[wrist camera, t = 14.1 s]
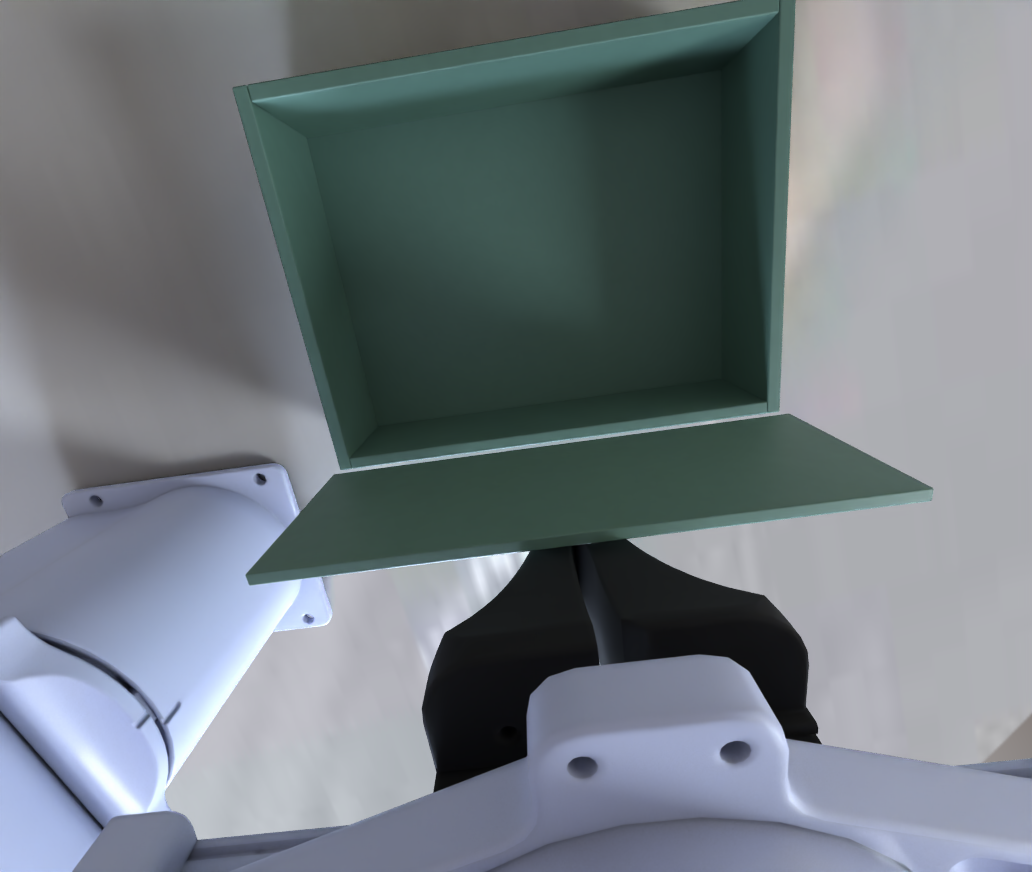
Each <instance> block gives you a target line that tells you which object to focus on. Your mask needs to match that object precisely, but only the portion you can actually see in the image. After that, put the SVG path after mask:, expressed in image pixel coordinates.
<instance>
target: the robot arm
mask: <svg viewBox="0 0 1032 872" xmlns="http://www.w3.org/2000/svg"><path fill="white" fill-rule="evenodd" d="M258 473H260V474H262V475H264V476H265V478H266V481H262V480H261V479H260V478H259V477H258ZM98 497H100V498H101V499H102V501H100V500H99V499H98ZM62 505H63V507H64V509H65V511H66V513H67V515H68V517H69V518H68V519H66V520H65V521H63V522H61V523H59V524H57V525H55V526H54V527H52V528H50V529H48V530H46V531H44V532H43V533H41V534H39V535H37V536H35V537H34V538H32V539H30V540H28V541H26V542H24V543H23V544H21V545H19V546H17V547H15V548H13V549H12V550H10V551H8V552H6V553H4V554H2V555H1V556H0V872H1032V758H1030V759H1020V760H1009V761H999V762H989V763H979V764H969V765H958V766H950V765H944V764H938V763H932V762H926V761H920V760H914V759H907V758H901V757H895V756H889V755H883V754H877V753H871V752H865V751H859V750H852V749H846V748H840V747H834V746H828V745H822V743H821V742H820V740H819V739H818V737H817V736H816V734H818V726H817V723H816V721H815V719H814V718H813V716H812V715H811V713H810V712H809V711H808V709H807V708H806V695H807V682H808V669H809V662H808V652H807V649H806V647H805V645H804V643H803V641H802V639H801V637H800V635H799V634H798V633H797V632H796V630H795V629H794V628H793V627H792V625H791V624H790V623H789V622H788V620H787V619H786V618H785V617H784V616H783V615H782V613H781V612H780V611H779V610H778V609H777V608H776V607H775V606H774V605H773V604H772V603H771V602H770V601H769V600H768V599H767V598H766V597H765V596H764V595H760V594H755V593H751V592H746V591H742V590H737V589H733V588H728V587H725V586H721V585H718V584H715V583H712V582H709V581H705V580H703V579H700V578H697V577H694V576H692V575H689V574H687V573H685V572H682V571H680V570H678V569H675V568H673V567H671V566H669V565H667V564H665V563H663V562H661V561H659V560H658V559H656V558H654V557H652V556H650V555H649V554H647V553H645V552H644V551H642V550H641V549H639V548H638V547H636V546H635V545H633V544H632V543H631V542H629V541H628V540H627V539H622V540H614V541H606V542H597V543H589V544H581V545H573V546H565V547H557V548H549V549H541V550H533V551H530V552H529V554H528V556H527V557H526V559H525V561H524V563H523V564H522V566H521V567H520V569H519V570H518V572H517V573H516V574H515V576H514V577H513V578H512V580H511V581H510V582H509V583H508V584H507V586H506V587H505V588H504V589H503V590H502V591H501V592H500V593H499V594H498V595H497V596H496V597H495V598H494V599H493V600H492V601H491V602H489V603H488V604H487V605H486V606H485V607H483V608H482V609H481V610H480V611H478V612H477V613H476V614H474V615H473V616H471V617H470V618H468V619H467V620H465V621H464V622H462V623H460V624H459V625H457V626H455V627H454V628H452V629H451V630H449V631H447V632H445V634H444V636H443V638H442V640H441V643H440V645H439V647H438V650H437V652H436V655H435V658H434V660H433V663H432V666H431V669H430V672H429V676H428V681H427V685H426V690H425V695H424V700H423V705H422V714H423V724H424V727H425V731H426V735H427V738H428V742H429V746H430V750H431V753H432V757H433V761H434V765H435V768H436V772H437V773H436V779H435V786H434V792H433V793H432V794H429V795H426V796H424V797H421V798H419V799H416V800H413V801H411V802H408V803H406V804H403V805H400V806H398V807H395V808H393V809H390V810H388V811H385V812H382V813H380V814H377V815H375V816H372V817H369V818H367V819H364V820H362V821H359V822H356V823H354V824H351V825H346V826H336V827H326V828H315V829H305V830H295V831H285V832H275V833H264V834H254V835H244V836H234V837H224V838H213V839H203V840H197V837H196V834H195V831H194V828H193V826H192V824H191V822H190V820H189V819H188V818H187V817H186V816H185V815H183V814H181V813H178V812H176V811H171V809H170V808H169V806H168V804H167V802H166V799H165V790H166V788H167V787H168V785H169V784H170V782H171V781H172V779H173V778H174V776H175V775H176V773H177V772H178V770H179V769H180V767H181V766H182V764H183V763H184V761H185V760H186V759H187V757H188V756H189V754H190V753H191V751H192V750H193V748H194V747H195V745H196V744H197V742H198V741H199V739H200V738H201V736H202V735H203V733H204V732H205V731H206V729H207V728H208V726H209V725H210V723H211V722H212V720H213V719H214V717H215V716H216V714H217V713H218V711H219V710H220V708H221V707H222V705H223V704H224V703H225V701H226V700H227V698H228V697H229V695H230V694H231V692H232V691H233V689H234V688H235V686H236V685H237V683H238V682H239V680H240V679H241V677H242V676H243V674H244V673H245V672H246V670H247V669H248V667H249V666H250V664H251V663H252V661H253V660H254V658H255V657H256V655H257V654H258V652H259V651H260V649H261V648H262V646H263V645H264V644H265V642H266V641H267V639H268V638H269V636H270V635H271V633H272V632H274V631H283V630H291V629H299V628H308V627H316V626H323V625H326V624H327V623H328V622H329V621H330V619H331V617H332V609H331V606H330V603H329V600H328V597H327V594H326V591H325V588H324V585H323V582H322V579H321V577H316V578H308V579H300V580H292V581H284V582H276V583H268V584H260V585H252V586H250V585H249V584H248V581H247V579H246V576H245V575H246V573H247V572H248V571H249V570H250V569H251V568H252V566H253V565H254V564H255V563H256V562H257V561H258V560H259V559H260V557H261V556H262V555H263V554H264V553H265V552H266V551H267V550H268V548H269V547H270V546H271V545H272V544H273V543H274V542H275V541H276V539H277V538H278V537H279V536H280V535H281V534H282V533H283V531H284V530H285V529H286V528H287V527H288V526H289V525H290V524H291V522H292V521H293V520H294V519H295V518H296V517H297V516H298V515H299V513H300V511H299V507H298V504H297V501H296V498H295V495H294V492H293V489H292V486H291V483H290V480H289V477H288V473H287V471H286V470H285V468H284V467H283V466H281V465H279V464H277V463H270V464H262V465H255V466H247V467H240V468H233V469H225V470H218V471H211V472H203V473H196V474H189V475H181V476H174V477H166V478H159V479H152V480H144V481H137V482H130V483H122V484H115V485H107V486H100V487H93V488H85V489H78V490H73V491H71V492H69V493H67V494H65V495H64V496H63V497H62ZM306 614H309V615H311V616H312V617H313V618H310V617H308V616H307V615H306ZM599 661H600V664H599Z"/></svg>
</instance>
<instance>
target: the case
mask: <svg viewBox="0 0 1032 872" xmlns="http://www.w3.org/2000/svg"><path fill="white" fill-rule="evenodd" d="M795 2H796V0H739V1H733V2H727V3H721V4H715V5H710V6H704V7H698V8H692V9H686V10H680V11H675V12H669V13H663V14H657V15H651V16H645V17H640V18H634V19H628V20H622V21H616V22H610V23H605V24H599V25H593V26H587V27H581V28H575V29H570V30H564V31H558V32H552V33H546V34H541V35H535V36H529V37H523V38H517V39H511V40H506V41H500V42H494V43H488V44H482V45H476V46H471V47H465V48H459V49H453V50H447V51H441V52H436V53H430V54H424V55H418V56H412V57H406V58H401V59H395V60H389V61H383V62H377V63H371V64H366V65H360V66H354V67H348V68H342V69H336V70H331V71H325V72H319V73H313V74H307V75H301V76H296V77H290V78H284V79H278V80H272V81H266V82H261V83H255V84H249V85H248V86H247V85H243V86H237V87H233V92H234V96H235V99H236V103H237V106H238V110H239V113H240V117H241V120H242V124H243V127H244V131H245V134H246V138H247V142H248V145H249V149H250V152H251V156H252V159H253V163H254V166H255V170H256V173H257V177H258V180H259V184H260V187H261V191H262V194H263V198H264V202H265V205H266V209H267V212H268V216H269V219H270V223H271V226H272V230H273V233H274V237H275V240H276V244H277V247H278V251H279V254H280V258H281V261H282V265H283V269H284V272H285V276H286V279H287V283H288V286H289V290H290V293H291V297H292V300H293V304H294V307H295V311H296V314H297V318H298V321H299V325H300V329H301V332H302V336H303V339H304V343H305V346H306V350H307V353H308V357H309V360H310V364H311V367H312V371H313V374H314V378H315V381H316V385H317V388H318V392H319V396H320V399H321V403H322V406H323V410H324V413H325V417H326V420H327V424H328V427H329V431H330V434H331V438H332V441H333V445H334V448H335V452H336V456H337V459H338V463H339V466H340V469H341V470H347V469H352V468H353V469H354V468H362V467H369V466H377V465H384V464H392V463H399V462H407V461H414V460H422V459H429V458H437V457H444V456H451V455H459V454H466V453H474V452H481V451H489V450H496V449H504V448H511V447H519V446H526V445H533V444H541V443H548V442H556V441H563V440H571V439H578V438H586V437H593V436H601V435H608V434H616V433H623V432H630V431H638V430H645V429H653V428H660V427H668V426H675V425H683V424H690V423H698V422H705V421H712V420H720V419H727V418H735V417H742V416H750V415H757V414H765V413H772V412H778V411H779V407H780V381H781V356H782V331H783V305H784V280H785V255H786V229H787V204H788V179H789V154H790V128H791V103H792V78H793V52H794V27H795Z"/></svg>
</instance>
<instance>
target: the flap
mask: <svg viewBox="0 0 1032 872" xmlns="http://www.w3.org/2000/svg"><path fill="white" fill-rule="evenodd" d="M932 495H933V488H932V487H930V486H928V485H926V484H924V483H922V482H920V481H918V480H916V479H914V478H912V477H911V476H909V475H907V474H905V473H903V472H901V471H899V470H897V469H895V468H893V467H891V466H889V465H887V464H885V463H883V462H882V461H880V460H878V459H876V458H874V457H872V456H870V455H868V454H866V453H864V452H862V451H860V450H858V449H856V448H855V447H853V446H851V445H849V444H847V443H845V442H843V441H841V440H839V439H837V438H835V437H833V436H831V435H829V434H828V433H826V432H824V431H822V430H820V429H818V428H816V427H814V426H812V425H810V424H808V423H806V422H804V421H802V420H801V419H799V418H797V417H795V416H793V415H791V414H783V415H775V416H768V417H761V418H753V419H746V420H738V421H731V422H723V423H716V424H708V425H701V426H693V427H686V428H678V429H671V430H663V431H656V432H648V433H641V434H633V435H626V436H619V437H611V438H604V439H596V440H589V441H581V442H574V443H566V444H559V445H551V446H544V447H536V448H529V449H521V450H514V451H506V452H499V453H491V454H484V455H476V456H469V457H462V458H454V459H447V460H439V461H432V462H424V463H417V464H409V465H402V466H394V467H387V468H379V469H372V470H364V471H357V472H349V473H342V474H334V475H333V476H332V477H331V478H330V480H329V481H328V482H327V483H326V484H325V485H324V486H323V487H322V489H321V490H320V491H319V492H318V493H317V494H316V495H315V497H314V498H313V499H312V500H311V501H310V502H309V503H308V504H307V506H306V507H305V508H304V509H303V510H302V511H301V512H300V513H299V515H298V516H297V517H296V518H295V519H294V520H293V521H292V522H291V524H290V525H289V526H288V527H287V528H286V529H285V530H284V531H283V533H282V534H281V535H280V536H279V537H278V538H277V539H276V541H275V542H274V543H273V544H272V545H271V546H270V547H269V548H268V550H267V551H266V552H265V553H264V554H263V555H262V556H261V557H260V559H259V560H258V561H257V562H256V563H255V564H254V565H253V566H252V568H251V569H250V570H249V571H248V572H247V573H246V575H245V576H246V579H247V581H248V584H249V585H250V586H252V585H260V584H268V583H276V582H284V581H292V580H300V579H308V578H316V577H324V576H332V575H340V574H348V573H356V572H364V571H372V570H380V569H388V568H396V567H405V566H413V565H421V564H429V563H437V562H445V561H453V560H461V559H469V558H477V557H485V556H493V555H501V554H509V553H517V552H525V551H533V550H541V549H549V548H557V547H565V546H573V545H581V544H589V543H597V542H606V541H614V540H622V539H630V538H638V537H646V536H654V535H662V534H670V533H678V532H686V531H694V530H702V529H710V528H718V527H726V526H734V525H742V524H750V523H758V522H766V521H774V520H782V519H790V518H798V517H807V516H815V515H823V514H831V513H839V512H847V511H855V510H863V509H871V508H879V507H887V506H895V505H903V504H911V503H919V502H927V501H931V500H932Z"/></svg>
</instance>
